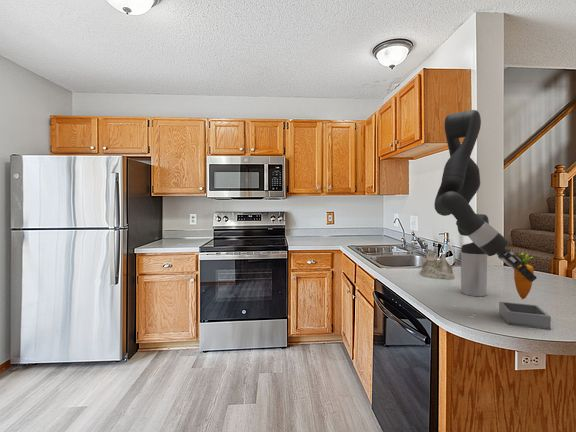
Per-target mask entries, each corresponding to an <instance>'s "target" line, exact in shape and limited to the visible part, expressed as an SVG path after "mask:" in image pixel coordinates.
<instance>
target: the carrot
mask: <svg viewBox="0 0 576 432" xmlns="http://www.w3.org/2000/svg"><path fill="white" fill-rule="evenodd" d="M529 255H530V254H529V253H524V252H521V253H520V254H518V258H519V259H520V260H521V262H522V263H523V264H524V265H525V266H527V269H528V270H529V271H530V272H532V273H533V274H534V271H535V270H534V266H533V265H531V264H529V262H530V261H531V260H533V259H534V257H533V256H530V257H529ZM521 267H522V265H519V266H518V267H517V268H518V269H519V268H521ZM513 277H514V278H513V279H514V283H515V289H516V291H517V294H518V296H519V297H520V298H521V300H524V299H526V298H527V296H528V295H529V293H530V292H531V289H532V285H533V282H534V281H532V282H530V281H529V280H528V279H527V278H526V277H524V276H523V275H522V274H521V273H519V272H518V271H517V270H516V269H515V268H514V269H513Z"/></svg>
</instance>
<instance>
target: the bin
mask: <svg viewBox="0 0 576 432" xmlns="http://www.w3.org/2000/svg"><path fill="white" fill-rule="evenodd" d="M498 304H499V305H498V306H499V307H498V313H499V314H500V317H501V318H502V319H503V320H504V321H505V323H506V325H509V326H510V325H511V326H517V327H524V328H525V327H527V328H533V329H541V330H543V329H544V330H549V331H550V330H551V319H552V318H551V317H552V316H551V315H550V314H548V313H547V312H546V311H545V310H544V309H543V308H541V307H540V306H539V305H538V304H528V303H520V302H519V303H518V302H510V301H509V302H507V301H499V302H498Z"/></svg>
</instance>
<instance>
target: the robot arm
mask: <svg viewBox="0 0 576 432" xmlns="http://www.w3.org/2000/svg"><path fill="white" fill-rule="evenodd" d="M481 124H482V117H481V114H480V112H479V111H478V110H476V109H471V110H465V111H464V110H463V111H460V112H454V113H448V115H446V116H445V119H444V133H445V138H446V143H447V147H448V151H449V152H448V153H449V158H448V159H447V161H446V163H445V165H444V168H443V172H442V176H441V177H442V178H441V183H440V186H439V188H438V191H437V194H436V196H435V199H434V206H433V207H434V209H435V212H436V213H437V214H438V215H440V216H443V217H445V216H450V215H452V216H453V218H455V220H456V221H455V224H456V226H457V231H458V233H459V235H460V236H464V237H465V236H466V237H468V238H469V239H470V240H471V241H472V242H470V243H465V244H462V245H461V248H460V249H461V253H460V254H461V257H460V258H461V261H460V292H461V294H463V295H466V296H472V297H486V296H487V290H488V289H487V287H488V256H489V257H493V256H495V255H497V258H498V259H499V260H501V262H503V263H504V264H505V265H507V266H509V267H510V268H512V270H514V268H515V269H516V270H517V271H518V272H519V273H521V274H522V275H523V276H524V277H526V278H527V279H528V280H529V281H530V282H532V281H533V282H534V281H535V280H537V278H538V277H537V276H536V274H534V273H532V272H530V271H529V270H528V269H527V266H525V265H524V264H523V263H522V262H521V260H520V257H519V256H516V255H515V253H514V252H513V251H512V250H511V249H509V248H506V247H507V246H508V244H509V240H508V239H507V238H505V236H504V235H502V234H501V233H500V232H499V231H498V230H497V229H495V228H494V227H493V226H492V225H491V224H490V223H489V221H490V220H489V217H488V215H486V214H484V213H483V214H482V213H480V214H479V213H478V214H477V213H476V212H475V211H474V209H473V208H472V206H471V205H470V202H471V200H472V199H473V198H474V196H475V195H476V193H478V191H479V189H480V186H481V175H480V168H479V166H478V165H477V163H476V162H475V161H474V160H473V159H472V158H471V156H472V152H473V151H474V148H475V145H476V142H477V140H478V136H479V134H480V130H481ZM462 138H464V139H463V140H462V142H460V139H462ZM519 265H522V267H521V268H519V269H518V268H517V267H518V266H519ZM533 282H532V283H533Z"/></svg>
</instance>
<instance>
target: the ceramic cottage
mask: <svg viewBox="0 0 576 432" xmlns="http://www.w3.org/2000/svg"><path fill="white" fill-rule="evenodd" d="M421 267H422V268H421V270H420V272H419V275H420V276H421V277H424V278H429V279H435V280H448V281H449V280H451V281H452V280H455V278H456V277H455V274H454V273H453V266H452V265H451V264H450V263H449V262H448V261H447V258H446V253H443V252H442V253H441V257H440V258H439V259H438V257H437V253H436V252H434V251H433V250H432V249H431V248H429V249H428V253H427V252H426V253H425V257H422V266H421Z"/></svg>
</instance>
